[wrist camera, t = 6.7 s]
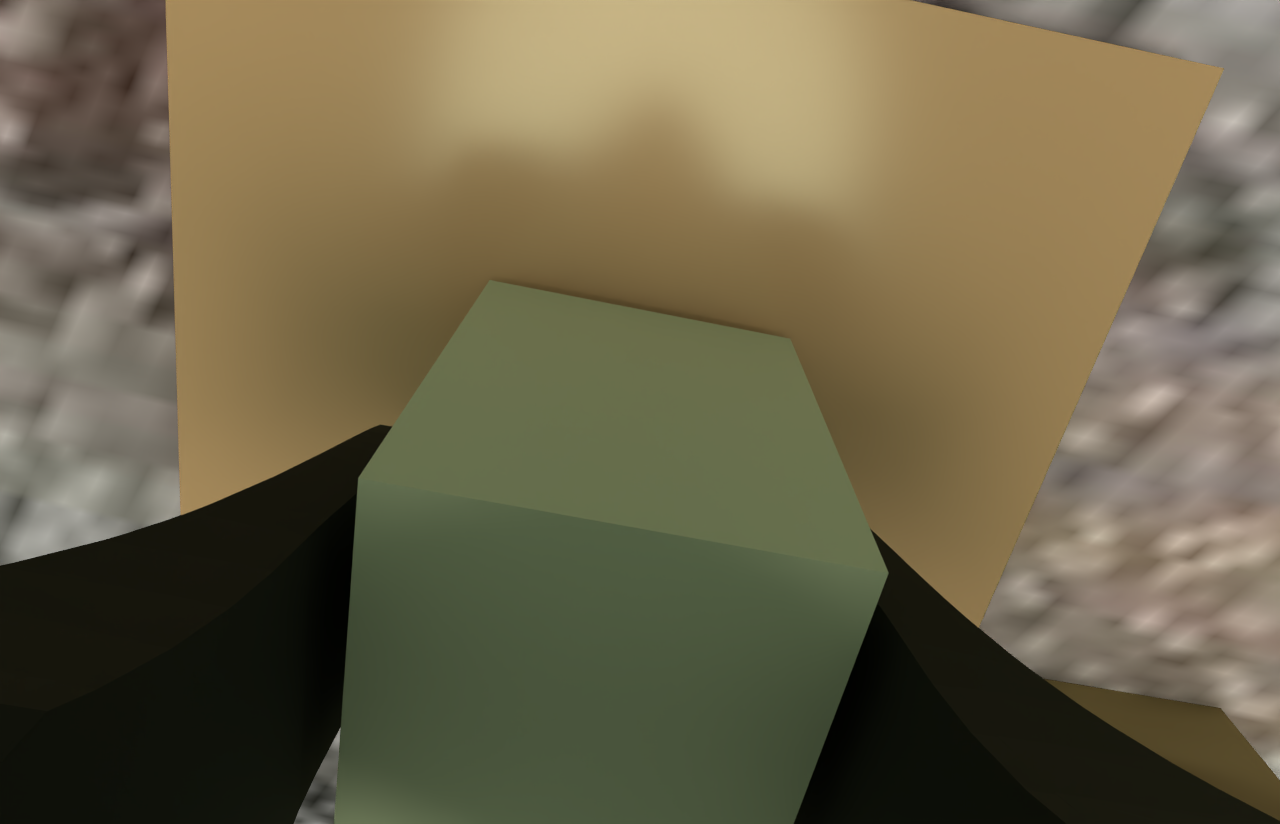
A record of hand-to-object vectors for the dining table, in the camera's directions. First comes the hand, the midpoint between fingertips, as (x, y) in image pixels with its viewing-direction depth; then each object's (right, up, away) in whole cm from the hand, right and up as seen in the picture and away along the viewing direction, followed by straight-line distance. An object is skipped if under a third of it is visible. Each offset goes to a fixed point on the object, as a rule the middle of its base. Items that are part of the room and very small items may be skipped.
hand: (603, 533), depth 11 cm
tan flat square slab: (0, +2, +4) cm, 4 cm away
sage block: (0, +1, +2) cm, 2 cm away
